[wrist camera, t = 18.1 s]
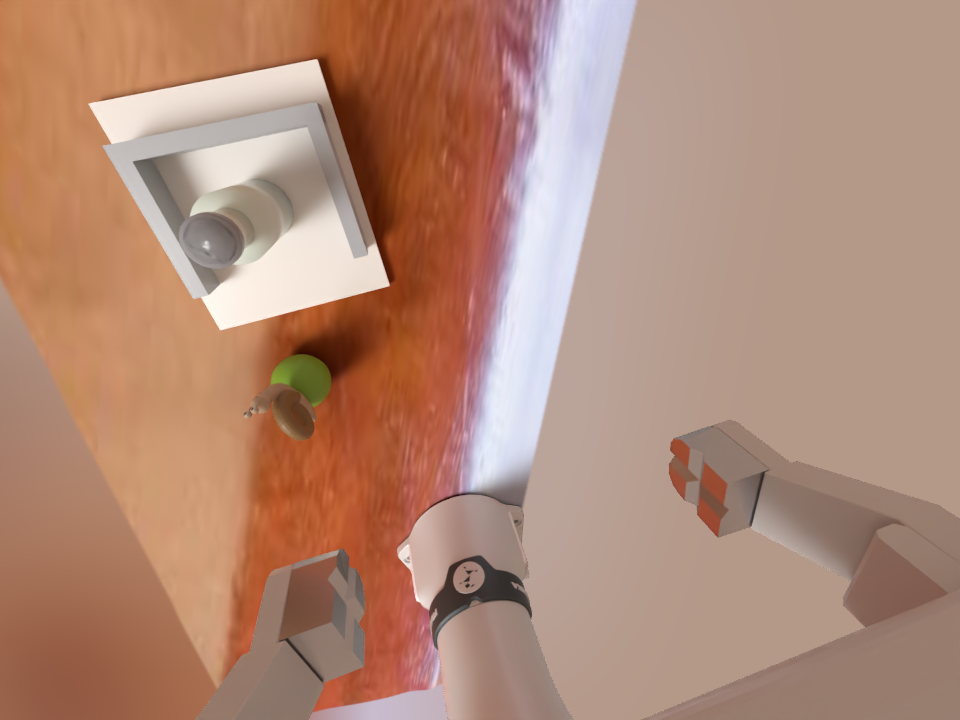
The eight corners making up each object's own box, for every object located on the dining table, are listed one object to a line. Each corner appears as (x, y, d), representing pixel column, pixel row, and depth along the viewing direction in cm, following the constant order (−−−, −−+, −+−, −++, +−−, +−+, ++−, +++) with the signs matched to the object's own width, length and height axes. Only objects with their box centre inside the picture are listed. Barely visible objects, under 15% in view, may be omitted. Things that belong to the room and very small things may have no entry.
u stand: (389, 283, 40) (391, 296, 36) (223, 326, 38) (209, 344, 35) (318, 60, 31) (312, 51, 27) (95, 104, 29) (59, 99, 26)
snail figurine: (301, 327, 40) (277, 392, 29) (344, 372, 43) (336, 445, 33) (257, 357, 40) (217, 431, 30) (302, 399, 43) (281, 479, 33)
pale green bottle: (302, 230, 35) (270, 271, 24) (248, 243, 34) (190, 291, 23) (279, 173, 33) (232, 189, 21) (221, 186, 32) (141, 209, 21)
